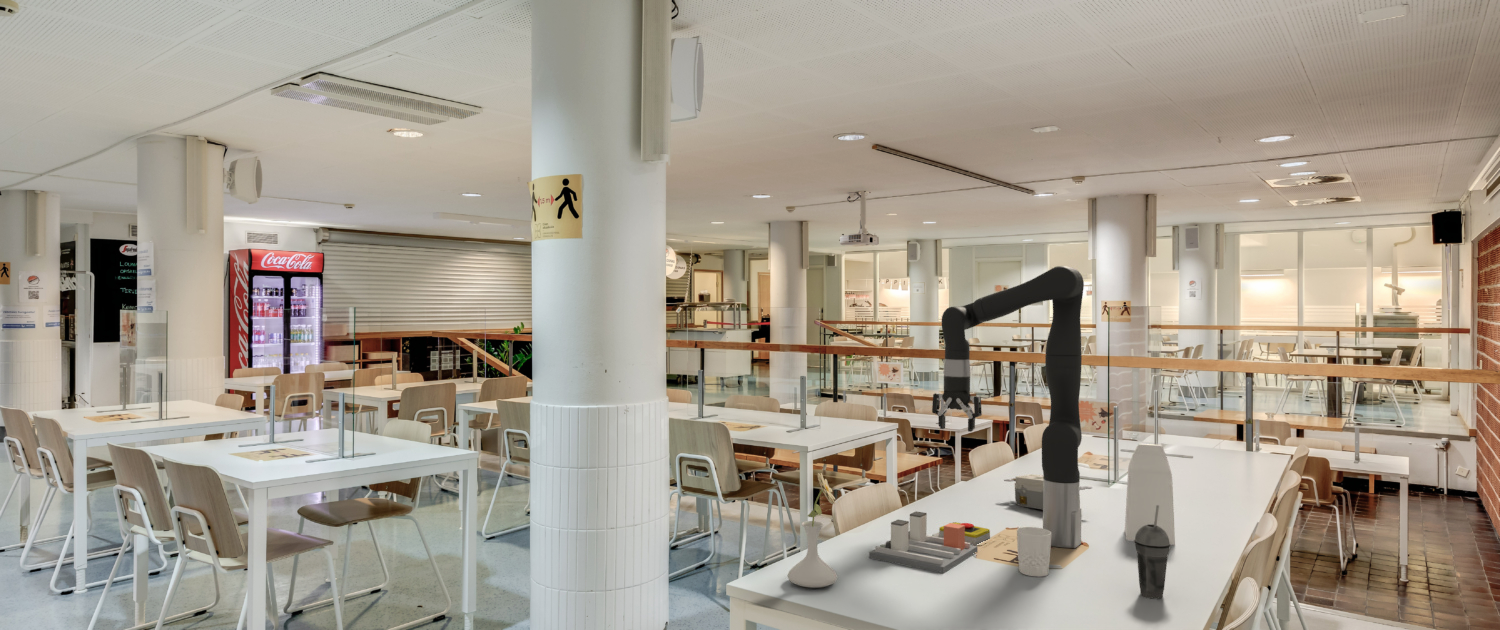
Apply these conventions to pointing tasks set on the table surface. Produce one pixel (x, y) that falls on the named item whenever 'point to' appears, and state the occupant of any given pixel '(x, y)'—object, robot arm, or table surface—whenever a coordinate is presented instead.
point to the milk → (1149, 491)
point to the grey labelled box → (1032, 491)
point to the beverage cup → (1152, 558)
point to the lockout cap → (954, 535)
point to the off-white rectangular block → (918, 526)
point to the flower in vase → (814, 550)
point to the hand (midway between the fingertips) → (956, 429)
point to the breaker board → (925, 554)
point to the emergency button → (970, 533)
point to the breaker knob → (900, 535)
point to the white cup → (1033, 551)
